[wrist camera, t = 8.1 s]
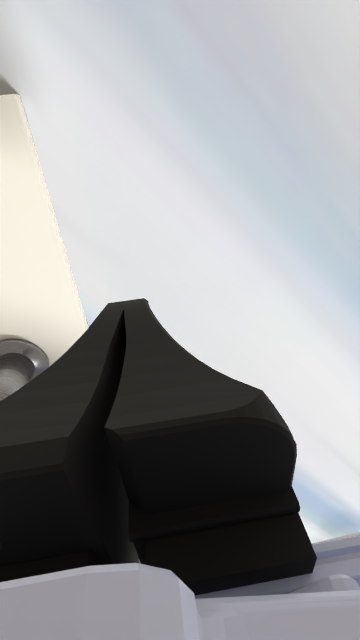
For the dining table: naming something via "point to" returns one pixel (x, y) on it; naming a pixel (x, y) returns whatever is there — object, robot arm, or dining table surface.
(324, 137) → the dining table surface
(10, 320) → the board
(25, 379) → the hinge post
